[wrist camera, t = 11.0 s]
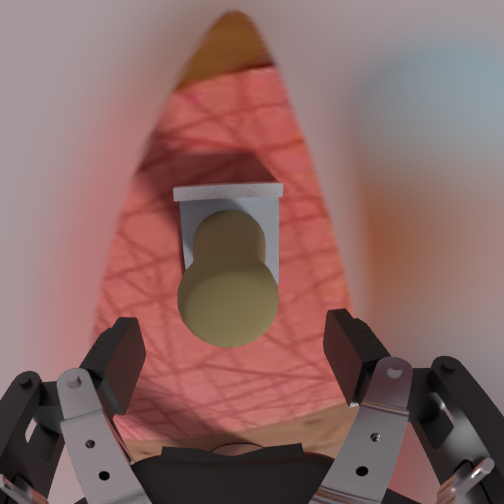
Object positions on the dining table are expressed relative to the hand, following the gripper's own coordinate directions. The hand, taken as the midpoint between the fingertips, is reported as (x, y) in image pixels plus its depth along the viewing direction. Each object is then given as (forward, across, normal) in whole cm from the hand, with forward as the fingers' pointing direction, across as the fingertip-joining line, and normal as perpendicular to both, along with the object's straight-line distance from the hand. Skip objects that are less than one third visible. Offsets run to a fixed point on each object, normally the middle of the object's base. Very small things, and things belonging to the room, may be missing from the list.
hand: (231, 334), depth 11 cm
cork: (+13, 0, 0) cm, 13 cm away
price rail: (+13, 0, -5) cm, 14 cm away
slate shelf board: (+13, 0, 0) cm, 13 cm away
